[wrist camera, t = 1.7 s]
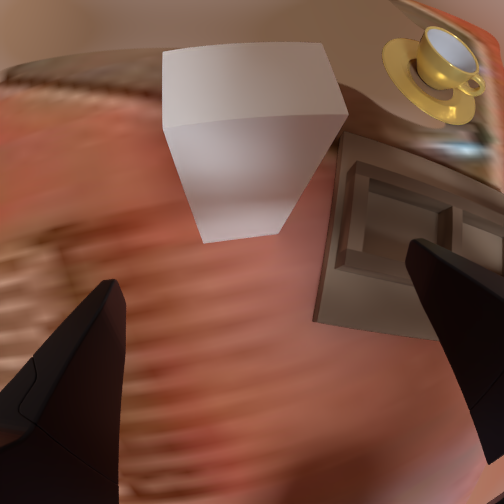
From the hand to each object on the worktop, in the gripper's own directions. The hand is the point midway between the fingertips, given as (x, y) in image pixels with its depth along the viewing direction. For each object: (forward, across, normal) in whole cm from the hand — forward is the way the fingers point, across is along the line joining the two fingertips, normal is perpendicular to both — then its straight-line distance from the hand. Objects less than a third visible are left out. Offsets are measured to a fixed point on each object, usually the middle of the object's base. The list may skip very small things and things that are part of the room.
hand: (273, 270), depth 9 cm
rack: (+9, -15, +8) cm, 19 cm away
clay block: (+12, 0, +5) cm, 13 cm away
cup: (+22, -22, -4) cm, 31 cm away
